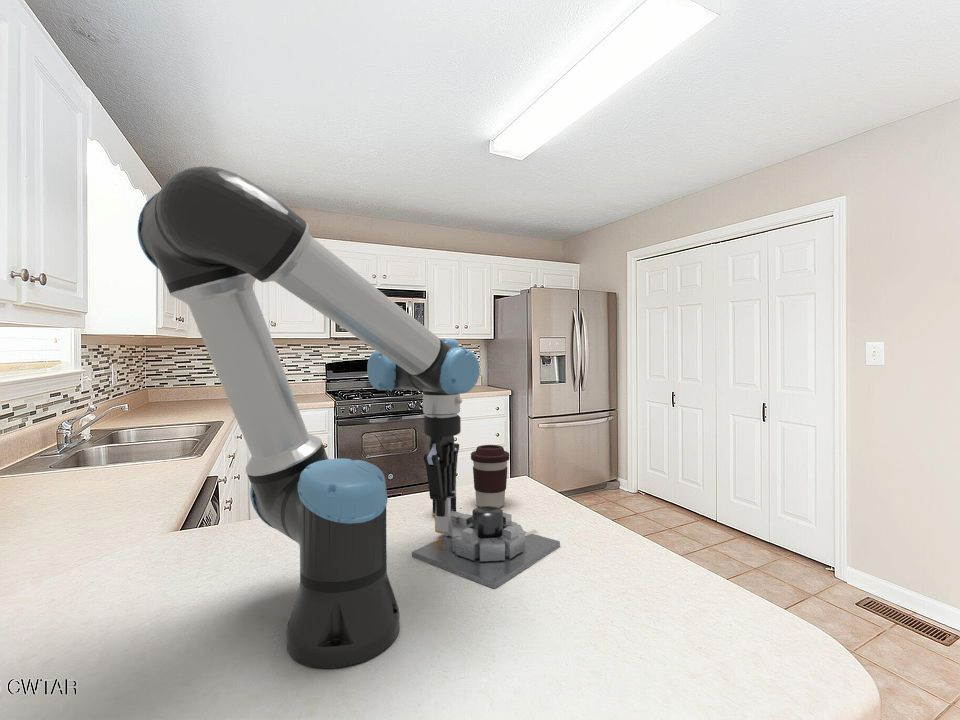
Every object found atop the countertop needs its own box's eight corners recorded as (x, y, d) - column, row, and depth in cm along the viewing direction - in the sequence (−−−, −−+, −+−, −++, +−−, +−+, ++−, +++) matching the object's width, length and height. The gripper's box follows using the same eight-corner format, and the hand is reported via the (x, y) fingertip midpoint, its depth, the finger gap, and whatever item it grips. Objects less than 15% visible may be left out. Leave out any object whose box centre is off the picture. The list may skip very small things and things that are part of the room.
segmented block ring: (494, 568, 84) (494, 542, 84) (415, 540, 96) (415, 517, 96) (536, 543, 95) (536, 520, 95) (460, 521, 107) (460, 500, 107)
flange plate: (494, 588, 79) (494, 541, 79) (401, 552, 93) (401, 512, 93) (564, 543, 97) (564, 504, 97) (477, 519, 112) (477, 485, 111)
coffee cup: (465, 502, 125) (464, 445, 124) (498, 497, 129) (498, 442, 128) (481, 513, 116) (480, 452, 115) (516, 507, 120) (516, 448, 119)
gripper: (446, 420, 89) (447, 544, 89) (470, 411, 101) (471, 520, 101) (410, 418, 91) (412, 540, 92) (438, 410, 103) (439, 517, 104)
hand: (443, 529), depth 97 cm, fingers closed
